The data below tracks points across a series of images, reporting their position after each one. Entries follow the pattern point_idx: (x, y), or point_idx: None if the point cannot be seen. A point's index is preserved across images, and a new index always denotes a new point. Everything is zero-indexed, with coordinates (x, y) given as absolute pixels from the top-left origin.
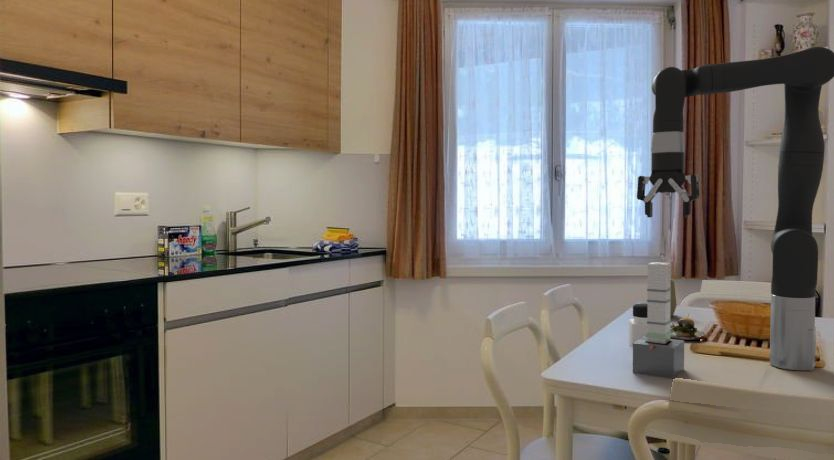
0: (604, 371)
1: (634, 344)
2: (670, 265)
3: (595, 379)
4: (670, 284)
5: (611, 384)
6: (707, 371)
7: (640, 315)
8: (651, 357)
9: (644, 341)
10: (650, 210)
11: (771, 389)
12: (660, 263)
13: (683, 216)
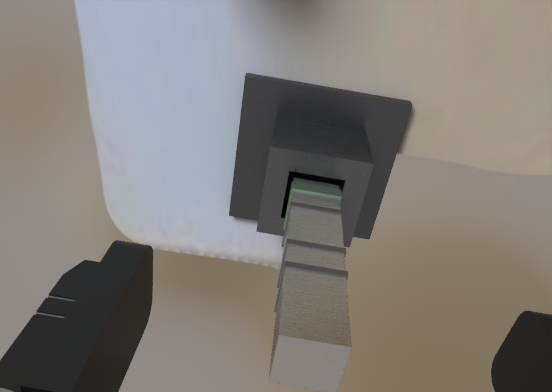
0: (201, 165)
1: (260, 230)
2: (350, 341)
3: (202, 222)
4: (346, 286)
5: (237, 240)
6: (421, 78)
7: None
8: None
9: (278, 207)
10: (124, 359)
11: (535, 172)
12: (313, 369)
13: (496, 377)
